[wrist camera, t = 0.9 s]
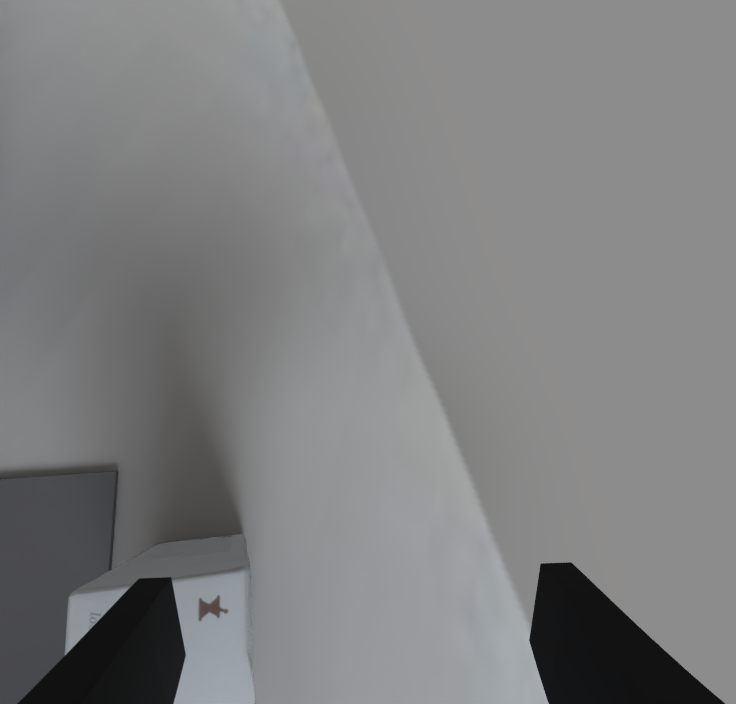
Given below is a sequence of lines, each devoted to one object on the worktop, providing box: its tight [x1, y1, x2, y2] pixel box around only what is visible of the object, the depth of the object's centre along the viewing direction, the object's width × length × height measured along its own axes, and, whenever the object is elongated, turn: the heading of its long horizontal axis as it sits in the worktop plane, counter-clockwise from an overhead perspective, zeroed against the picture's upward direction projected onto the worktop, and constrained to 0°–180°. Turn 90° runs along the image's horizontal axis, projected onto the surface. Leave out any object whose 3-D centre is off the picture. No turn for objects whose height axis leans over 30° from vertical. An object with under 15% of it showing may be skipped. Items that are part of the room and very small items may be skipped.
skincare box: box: [65, 534, 255, 704], centre depth 16 cm, size 6×4×12 cm
